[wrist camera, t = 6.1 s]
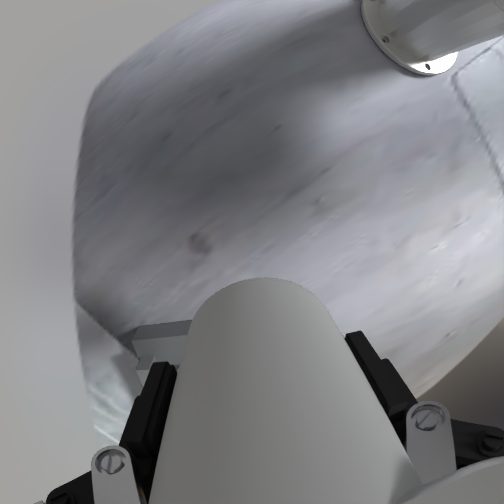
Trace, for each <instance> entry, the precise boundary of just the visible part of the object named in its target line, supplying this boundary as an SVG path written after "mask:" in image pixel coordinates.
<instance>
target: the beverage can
mask: <svg viewBox="0 0 504 504" xmlns="http://www.w3.org/2000/svg"><path fill="white" fill-rule="evenodd" d="M419 486H422V483H421V481H420V479H419V477H418V475H417V473H416V471H415V469H414V467H413V465H412V463H411V461H410V459H409V457H408V455H407V453H406V451H405V449H404V447H403V445H402V443H401V442H400V440H399V438H398V436H397V434H396V432H395V430H394V428H393V426H392V424H391V422H390V420H389V419H388V417H387V415H386V413H385V411H384V409H383V407H382V406H381V404H380V402H379V400H378V399H377V397H376V395H375V393H374V391H373V389H372V387H371V386H370V384H369V382H368V380H367V378H366V377H365V375H364V373H363V371H362V369H361V367H360V366H359V364H358V362H357V360H356V359H355V357H354V355H353V353H352V351H351V350H350V348H349V346H348V344H347V343H346V341H345V339H344V337H343V335H342V334H341V332H340V330H339V328H338V327H337V325H336V323H335V321H334V320H333V318H332V316H331V314H330V313H329V311H328V309H327V308H326V306H325V305H324V304H323V302H322V301H321V300H320V299H319V298H318V297H317V296H316V295H315V294H313V293H312V292H311V291H309V290H308V289H306V288H304V287H303V286H301V285H298V284H296V283H293V282H290V281H287V280H282V279H277V278H254V279H248V280H243V281H240V282H237V283H234V284H231V285H229V286H227V287H225V288H223V289H221V290H219V291H218V292H216V293H215V294H214V295H212V296H211V297H210V298H209V299H208V300H206V301H205V303H204V304H203V305H202V306H201V307H200V308H199V310H198V311H197V313H196V314H195V316H194V318H193V320H192V322H191V325H190V328H189V332H188V336H187V339H186V343H185V347H184V351H183V355H182V358H181V362H180V366H179V370H178V374H177V378H176V382H175V386H174V390H173V394H172V399H171V403H170V407H169V411H168V415H167V420H166V424H165V428H164V433H163V437H162V442H161V446H160V451H159V455H158V460H157V465H156V469H155V474H154V479H153V484H152V489H151V494H150V499H149V504H393V503H394V502H396V501H397V500H398V499H399V498H400V497H401V496H402V495H403V494H404V493H405V492H407V491H409V490H412V489H414V488H417V487H419Z"/></svg>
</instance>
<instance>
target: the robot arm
mask: <svg viewBox="0 0 504 504" xmlns="http://www.w3.org/2000/svg"><path fill="white" fill-rule="evenodd" d="M361 12H362V17H363V21H364V24H365V26H366V28H367V30H368V32H369V34H370V35H371V37H372V38H373V40H374V41H375V43H376V44H377V45H378V46H379V47H380V49H381V50H382V51H383V52H384V53H385V54H386V55H387V56H389V57H390V58H391V59H392V60H393V61H395V62H396V63H397V64H399V65H400V66H402V67H404V68H406V69H407V70H409V71H412V72H415V73H417V74H421V75H427V76H428V75H437V74H440V73H443V72H445V71H447V70H448V69H449V68H451V67H452V65H453V64H454V62H455V60H456V56H457V52H458V51H461V50H463V49H466V48H469V47H471V46H474V45H477V44H480V43H482V42H485V41H488V40H491V39H494V38H497V37H500V36H503V35H504V0H362V3H361ZM344 339H345V341H346V343H347V344H348V346H349V348H350V350H351V351H352V353H353V355H354V357H355V359H356V360H357V362H358V364H359V366H360V367H361V369H362V371H363V373H364V375H365V377H366V378H367V380H368V382H369V384H370V386H371V387H372V389H373V391H374V393H375V395H376V397H377V399H378V400H379V402H380V404H381V406H382V407H383V409H384V411H385V413H386V415H387V417H388V419H389V420H390V422H391V424H392V426H393V428H394V430H395V432H396V434H397V436H398V438H399V440H400V442H401V443H402V445H403V447H404V449H405V451H406V453H407V455H408V457H409V459H410V461H411V463H412V465H413V467H414V469H415V471H416V473H417V475H418V477H419V479H420V481H421V483H422V486H419V487H417V488H414V489H412V490H409V491H407V492H405V493H404V494H403V495H402V496H401V497H400V498H399V499H398V500H397V501H396V502H394V503H393V504H504V431H503V430H502V429H500V428H497V427H491V426H485V425H479V424H474V423H468V422H463V421H458V420H453V419H450V415H449V412H448V410H447V409H446V408H445V407H444V406H443V405H441V404H440V403H437V402H434V401H424V402H420V403H418V402H417V400H416V399H415V397H414V396H413V394H412V393H411V391H410V390H409V388H408V387H407V385H406V384H405V382H404V381H403V379H402V378H401V377H400V375H399V374H398V372H397V371H396V369H395V368H394V366H393V365H392V363H391V362H390V361H389V360H388V359H386V358H385V359H382V360H381V359H380V358H379V356H378V355H377V353H376V352H375V350H374V349H373V347H372V346H371V344H370V343H369V341H368V340H367V338H366V337H365V335H364V334H363V332H362V331H356V332H352V333H347V334H346V336H345V338H344ZM176 378H177V371H176V369H175V366H174V365H170V364H169V362H168V361H163V362H153V363H152V365H151V368H150V371H149V373H148V376H147V379H146V381H145V384H144V387H143V390H142V392H141V395H140V396H137V397H136V399H135V401H134V404H133V407H132V409H131V412H130V415H129V418H128V420H127V423H126V426H125V429H124V432H123V434H122V437H121V440H120V443H119V446H107V447H104V448H102V449H101V450H99V451H98V452H97V453H96V454H95V455H94V457H93V458H92V462H91V471H89V472H87V473H85V474H83V475H82V476H80V477H78V478H76V479H74V480H72V481H70V482H68V483H66V484H64V485H62V486H60V487H58V488H56V489H54V490H53V491H51V492H50V494H49V495H48V497H47V500H46V502H45V503H44V502H43V501H39V502H37V503H35V504H149V499H150V494H151V489H152V484H153V479H154V474H155V469H156V465H157V460H158V455H159V451H160V446H161V442H162V437H163V433H164V428H165V424H166V420H167V415H168V411H169V407H170V403H171V399H172V394H173V390H174V386H175V382H176Z"/></svg>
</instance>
